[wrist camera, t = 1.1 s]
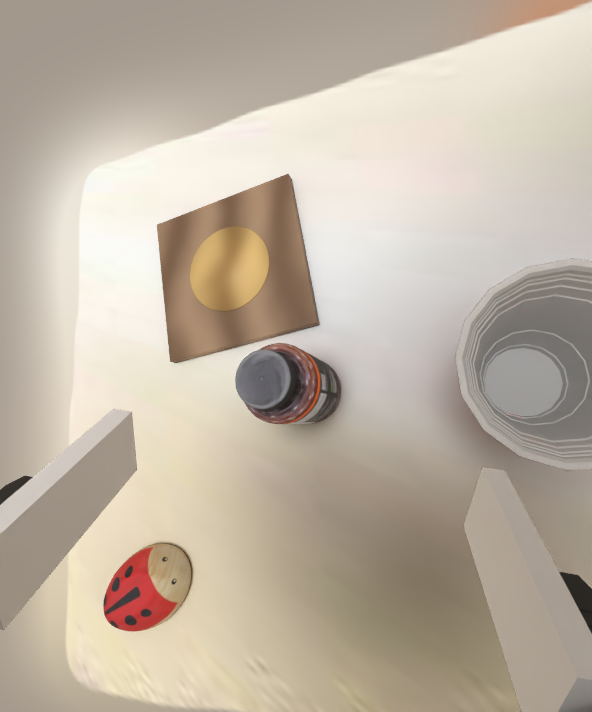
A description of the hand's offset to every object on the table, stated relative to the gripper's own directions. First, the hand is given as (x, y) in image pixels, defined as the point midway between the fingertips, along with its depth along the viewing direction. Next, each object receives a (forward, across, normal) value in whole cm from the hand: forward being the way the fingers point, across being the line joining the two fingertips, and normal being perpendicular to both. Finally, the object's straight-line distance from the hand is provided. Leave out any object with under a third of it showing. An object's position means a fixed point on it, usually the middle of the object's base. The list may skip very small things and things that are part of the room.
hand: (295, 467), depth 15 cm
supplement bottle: (+20, -1, -7) cm, 22 cm away
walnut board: (+28, -11, +1) cm, 30 cm away
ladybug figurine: (+13, -14, -27) cm, 33 cm away
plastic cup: (+18, +16, -3) cm, 24 cm away
